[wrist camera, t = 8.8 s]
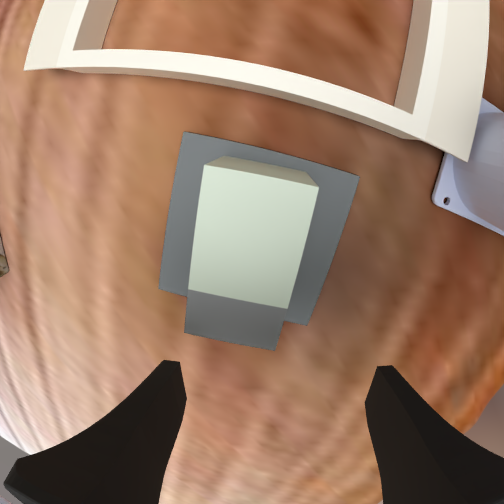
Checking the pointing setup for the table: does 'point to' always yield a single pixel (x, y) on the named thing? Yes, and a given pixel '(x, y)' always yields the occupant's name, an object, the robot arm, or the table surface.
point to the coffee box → (3, 261)
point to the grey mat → (319, 235)
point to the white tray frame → (299, 86)
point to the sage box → (247, 250)
